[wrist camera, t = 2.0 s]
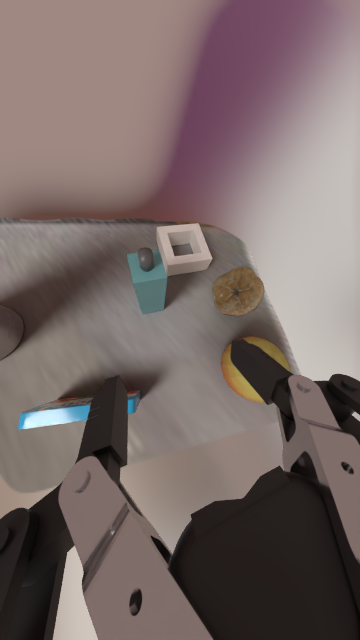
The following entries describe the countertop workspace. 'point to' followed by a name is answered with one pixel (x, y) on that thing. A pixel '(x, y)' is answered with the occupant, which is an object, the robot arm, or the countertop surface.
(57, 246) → the countertop surface
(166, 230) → the socket
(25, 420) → the blue printed box
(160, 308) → the teal block with knob
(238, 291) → the fossil
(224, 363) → the apple
